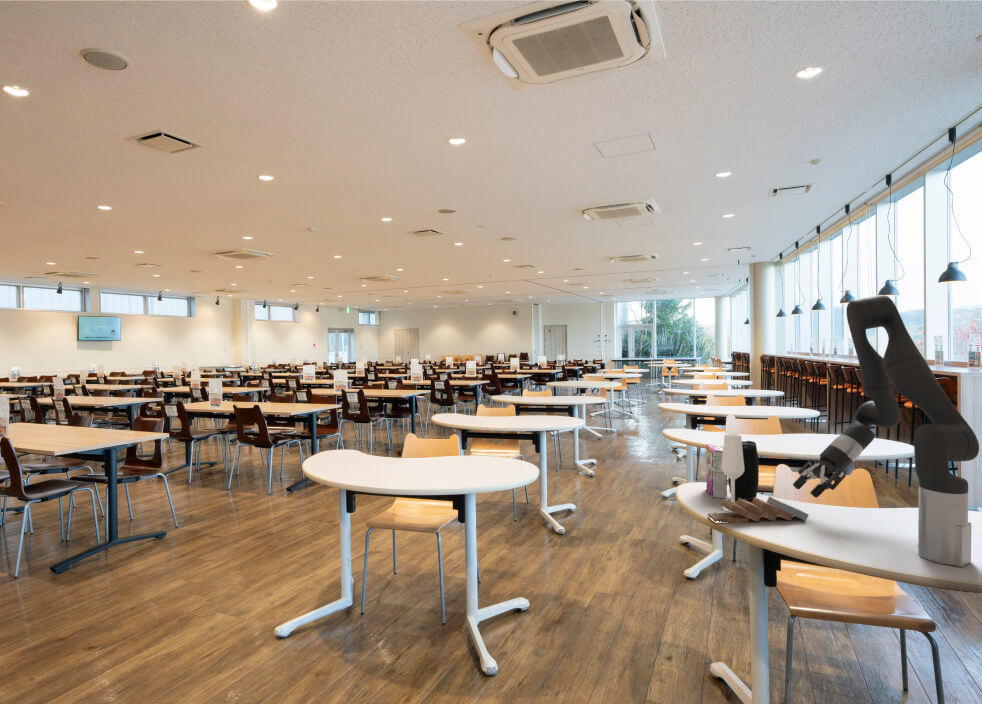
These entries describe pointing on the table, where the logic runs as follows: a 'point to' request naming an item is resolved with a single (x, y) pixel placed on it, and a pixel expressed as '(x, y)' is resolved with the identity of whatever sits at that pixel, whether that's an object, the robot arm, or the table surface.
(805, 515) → the grey domino
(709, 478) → the candy bar box
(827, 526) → the table surface
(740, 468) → the champagne flute
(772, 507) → the walnut domino
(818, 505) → the table surface
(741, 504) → the walnut domino
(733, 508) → the walnut domino
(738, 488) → the portable speaker
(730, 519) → the walnut domino
